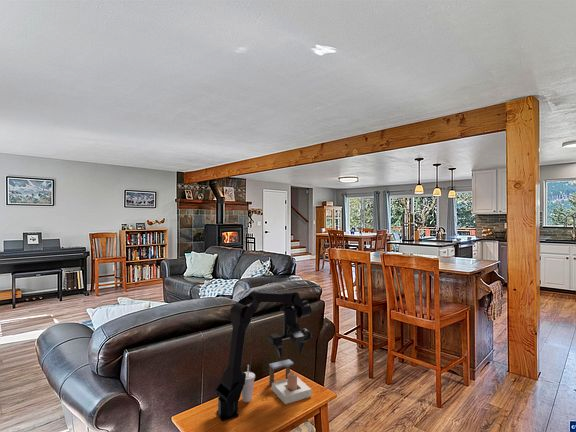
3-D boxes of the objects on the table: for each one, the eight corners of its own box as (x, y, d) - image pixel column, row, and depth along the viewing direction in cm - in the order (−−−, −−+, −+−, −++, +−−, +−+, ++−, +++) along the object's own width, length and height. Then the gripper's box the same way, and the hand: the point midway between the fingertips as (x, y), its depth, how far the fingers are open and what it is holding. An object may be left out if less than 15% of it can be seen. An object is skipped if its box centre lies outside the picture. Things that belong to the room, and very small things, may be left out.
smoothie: (247, 405, 128) (247, 369, 128) (235, 400, 132) (235, 365, 132) (258, 398, 133) (258, 363, 133) (246, 393, 137) (247, 359, 137)
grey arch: (272, 388, 142) (273, 367, 142) (268, 383, 145) (269, 363, 145) (293, 382, 146) (293, 362, 146) (289, 378, 150) (289, 359, 150)
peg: (290, 398, 134) (290, 378, 134) (285, 393, 138) (285, 374, 138) (298, 395, 136) (298, 375, 136) (294, 390, 140) (294, 371, 139)
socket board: (285, 404, 130) (285, 396, 130) (271, 389, 140) (271, 382, 140) (311, 396, 135) (311, 389, 135) (296, 383, 146) (296, 376, 146)
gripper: (279, 329, 131) (279, 368, 132) (318, 322, 140) (318, 359, 140) (267, 321, 141) (267, 357, 141) (305, 315, 150) (304, 349, 150)
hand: (289, 356), depth 143 cm, fingers open, 9 cm apart
